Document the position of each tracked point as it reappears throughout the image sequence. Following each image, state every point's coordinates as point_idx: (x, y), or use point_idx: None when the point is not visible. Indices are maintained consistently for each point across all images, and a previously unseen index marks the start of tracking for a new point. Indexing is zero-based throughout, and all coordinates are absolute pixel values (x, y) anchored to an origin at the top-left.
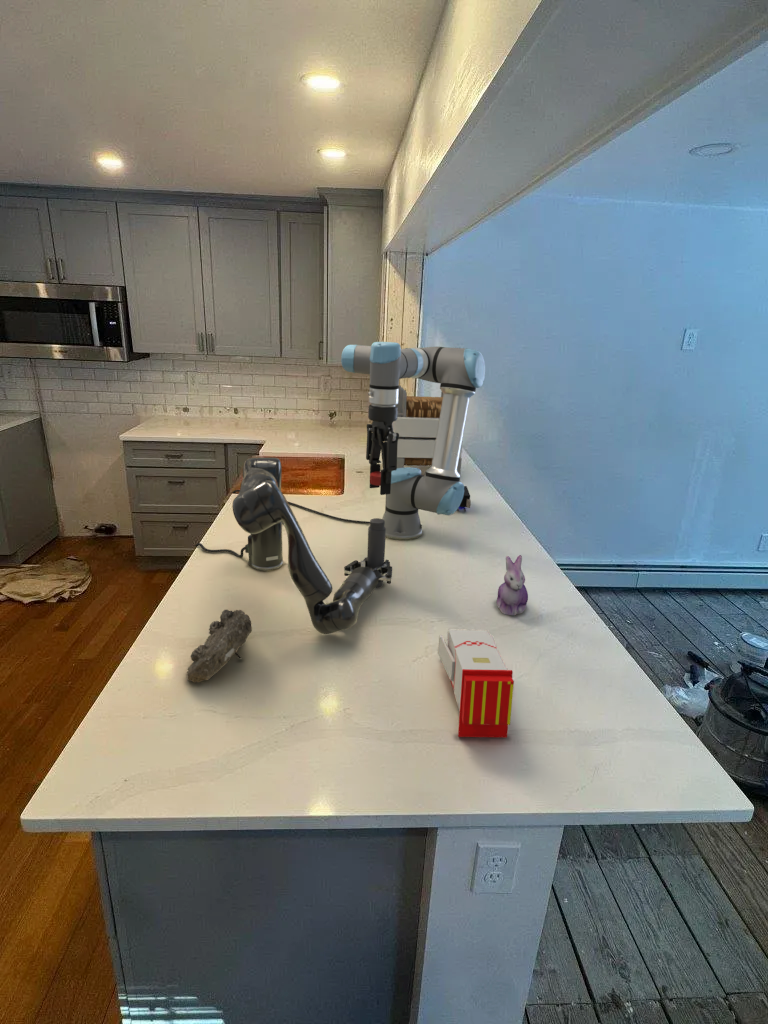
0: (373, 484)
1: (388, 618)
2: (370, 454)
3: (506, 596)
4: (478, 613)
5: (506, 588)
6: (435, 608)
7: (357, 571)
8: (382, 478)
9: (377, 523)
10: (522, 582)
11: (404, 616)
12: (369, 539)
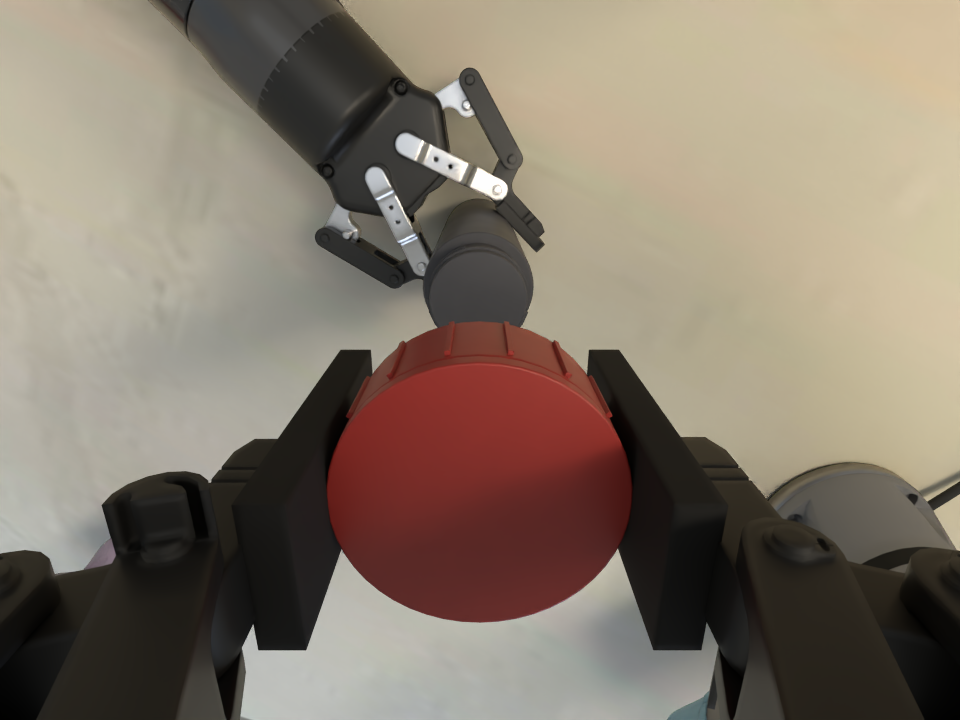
0: (428, 332)
1: (218, 153)
2: (890, 692)
3: (109, 542)
4: (174, 443)
5: (106, 563)
6: (240, 342)
7: (305, 58)
8: (276, 443)
9: (434, 278)
10: None
11: (216, 216)
12: (471, 223)
